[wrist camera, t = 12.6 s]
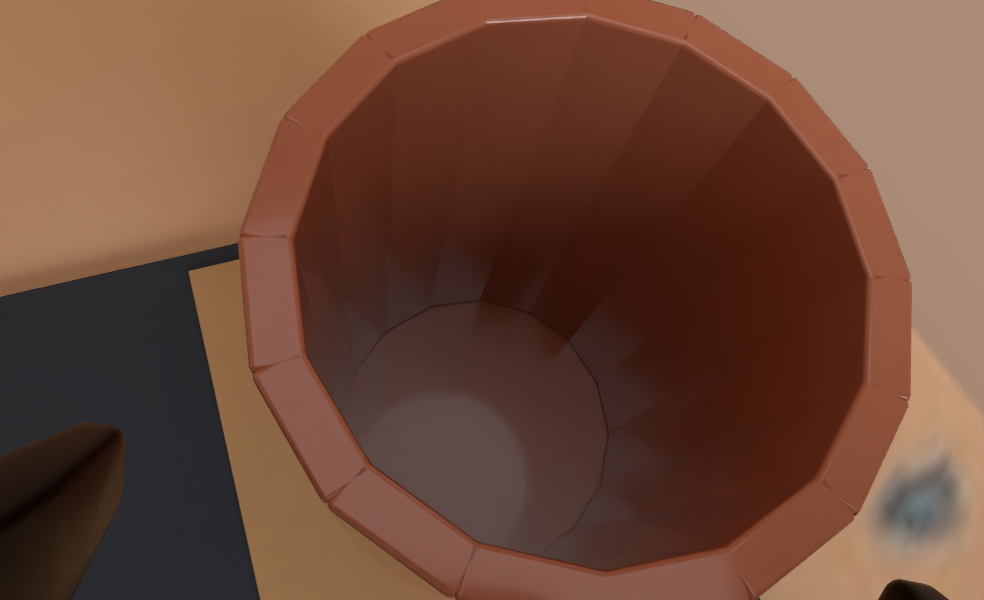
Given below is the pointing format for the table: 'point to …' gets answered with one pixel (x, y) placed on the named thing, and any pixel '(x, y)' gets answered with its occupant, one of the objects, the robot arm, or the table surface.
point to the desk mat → (178, 438)
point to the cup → (575, 304)
